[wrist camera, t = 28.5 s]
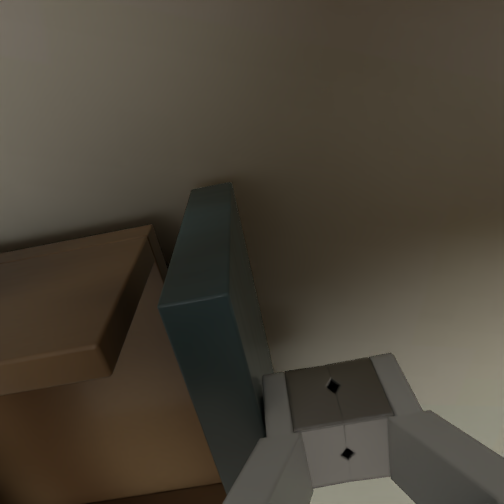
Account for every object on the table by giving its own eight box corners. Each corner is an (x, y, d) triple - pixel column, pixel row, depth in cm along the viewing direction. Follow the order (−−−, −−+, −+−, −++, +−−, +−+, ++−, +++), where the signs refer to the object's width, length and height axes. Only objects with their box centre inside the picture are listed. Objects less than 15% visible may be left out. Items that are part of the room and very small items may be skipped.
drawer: (272, 173, 11) (304, 279, 6) (321, 464, 18) (358, 637, 12) (-202, 266, 12) (-523, 429, 7) (5, 513, 18) (-84, 696, 13)
